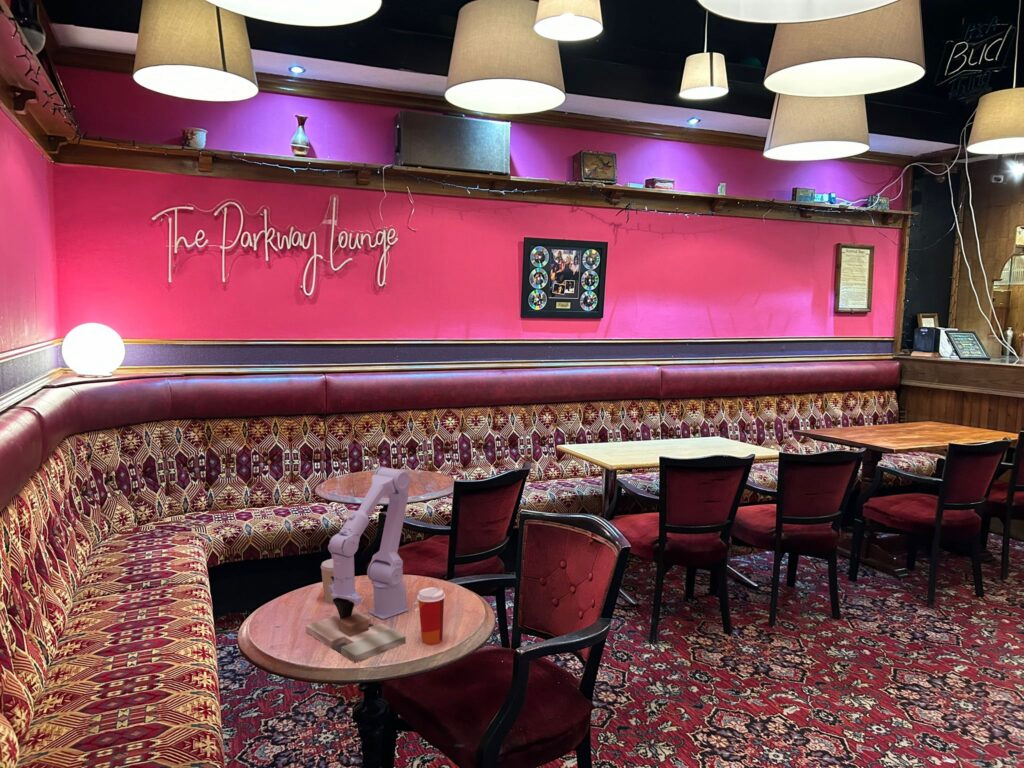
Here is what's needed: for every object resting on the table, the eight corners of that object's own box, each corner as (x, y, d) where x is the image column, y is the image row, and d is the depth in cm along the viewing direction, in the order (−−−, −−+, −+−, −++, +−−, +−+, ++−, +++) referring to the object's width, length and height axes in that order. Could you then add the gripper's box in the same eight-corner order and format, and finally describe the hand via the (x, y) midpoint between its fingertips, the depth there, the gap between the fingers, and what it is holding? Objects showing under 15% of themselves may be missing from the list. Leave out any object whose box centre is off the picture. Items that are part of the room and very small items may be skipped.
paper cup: (432, 632, 206) (431, 584, 205) (451, 639, 201) (450, 590, 200) (412, 641, 200) (410, 593, 199) (431, 649, 195) (430, 599, 194)
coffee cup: (334, 607, 224) (333, 569, 223) (315, 600, 230) (314, 563, 229) (358, 597, 232) (357, 561, 231) (339, 591, 237) (337, 555, 236)
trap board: (354, 615, 218) (354, 609, 218) (405, 643, 200) (405, 636, 199) (306, 632, 207) (305, 625, 207) (355, 663, 188) (355, 655, 188)
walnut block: (357, 623, 208) (356, 613, 207) (368, 630, 203) (368, 619, 203) (338, 630, 203) (338, 620, 203) (350, 636, 199) (349, 626, 199)
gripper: (318, 573, 207) (320, 618, 209) (345, 586, 197) (347, 634, 198) (340, 567, 212) (341, 611, 214) (367, 579, 202) (369, 626, 203)
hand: (345, 622), depth 206 cm, fingers closed
